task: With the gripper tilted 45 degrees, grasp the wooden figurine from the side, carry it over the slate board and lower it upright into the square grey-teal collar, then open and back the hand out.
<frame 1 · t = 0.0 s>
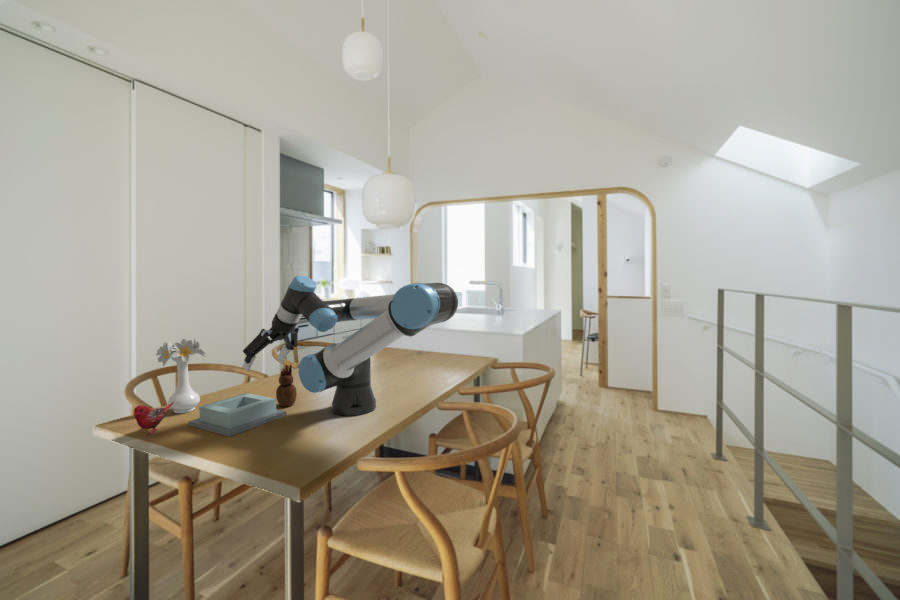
hand: (263, 364, 138), 15 cm above the table, tool tilted 35°, fingers open, 13 cm apart
flower vase: (182, 411, 136), on the table
wooden figurine: (286, 405, 141), on the table
collar stand: (239, 419, 127), on the table
decorative bird figurine: (156, 431, 118), on the table
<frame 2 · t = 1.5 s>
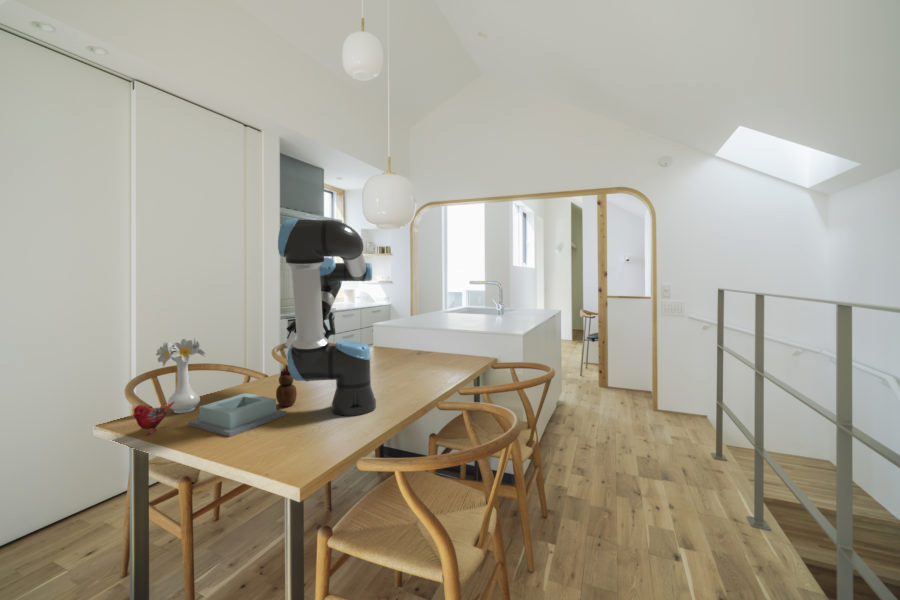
hand: (303, 347, 151), 19 cm above the table, tool tilted 45°, fingers open, 13 cm apart
nothing on the table moved.
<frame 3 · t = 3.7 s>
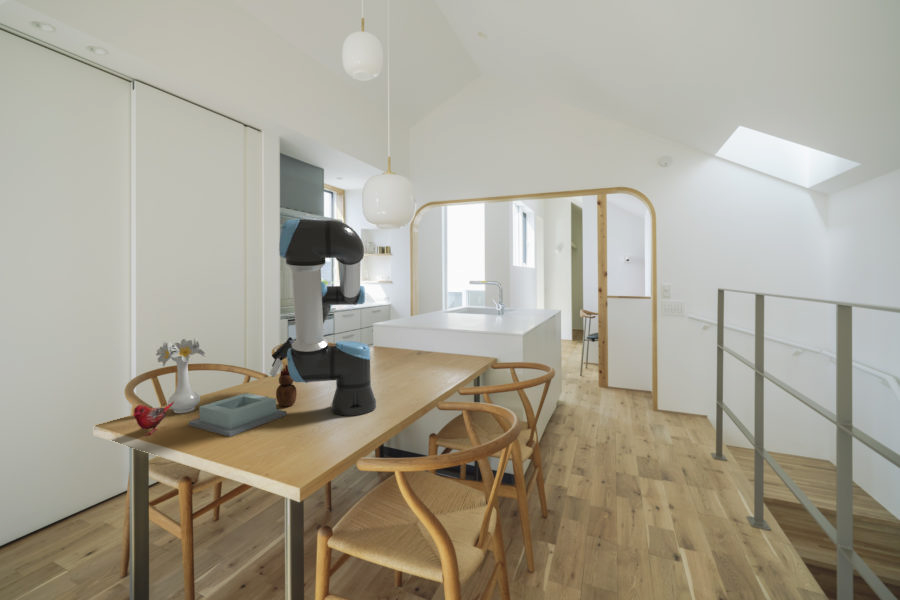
hand: (288, 376, 143), 10 cm above the table, tool tilted 45°, fingers open, 13 cm apart
nothing on the table moved.
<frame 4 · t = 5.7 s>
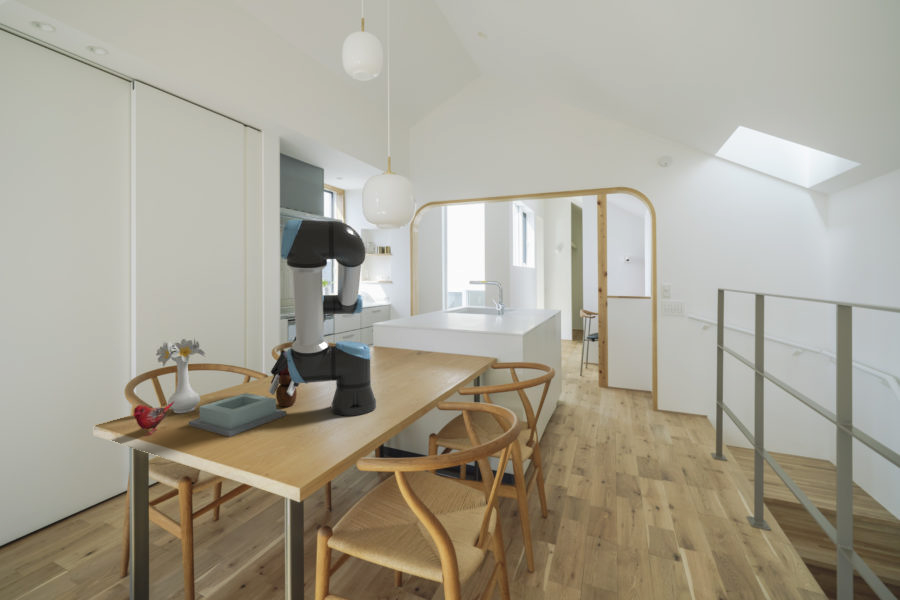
hand: (280, 393, 137), 5 cm above the table, tool tilted 45°, fingers closed on wooden figurine, 6 cm apart
wooden figurine: (286, 405, 141), on the table, touching gripper
everything else where it was.
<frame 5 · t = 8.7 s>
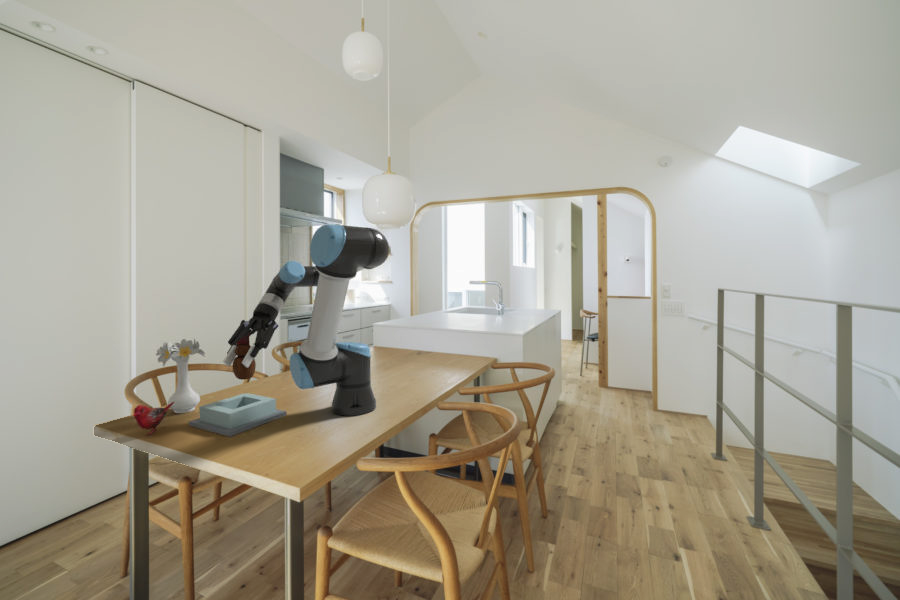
hand: (235, 364, 126), 18 cm above the table, tool tilted 45°, fingers closed on wooden figurine, 6 cm apart
wooden figurine: (244, 378, 130), point 12 cm above the table, touching gripper
everything else where it was.
when the fingers open (8 cm above the table, at t = 11.8 s): wooden figurine drops 1 cm, resting on collar stand.
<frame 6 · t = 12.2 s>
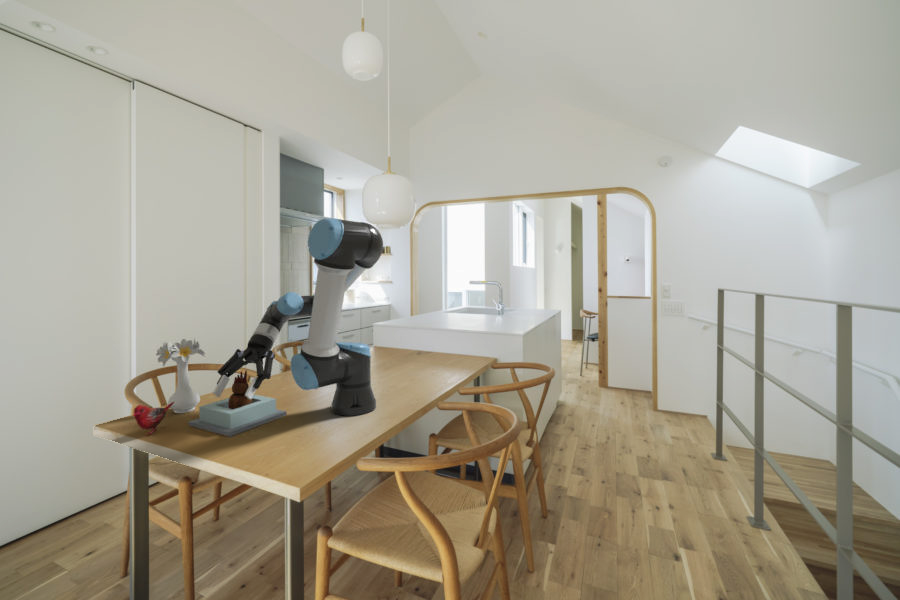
hand: (231, 396, 124), 9 cm above the table, tool tilted 45°, fingers open, 11 cm apart
wooden figurine: (240, 416, 127), point 1 cm above the table, touching collar stand
everything else where it was.
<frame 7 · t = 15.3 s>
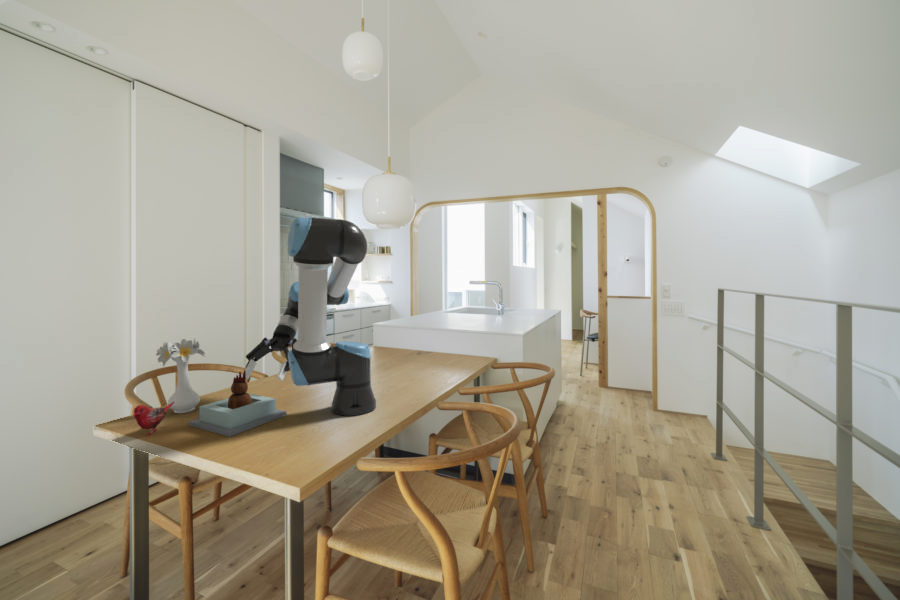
hand: (262, 377, 138), 11 cm above the table, tool tilted 45°, fingers open, 13 cm apart
nothing on the table moved.
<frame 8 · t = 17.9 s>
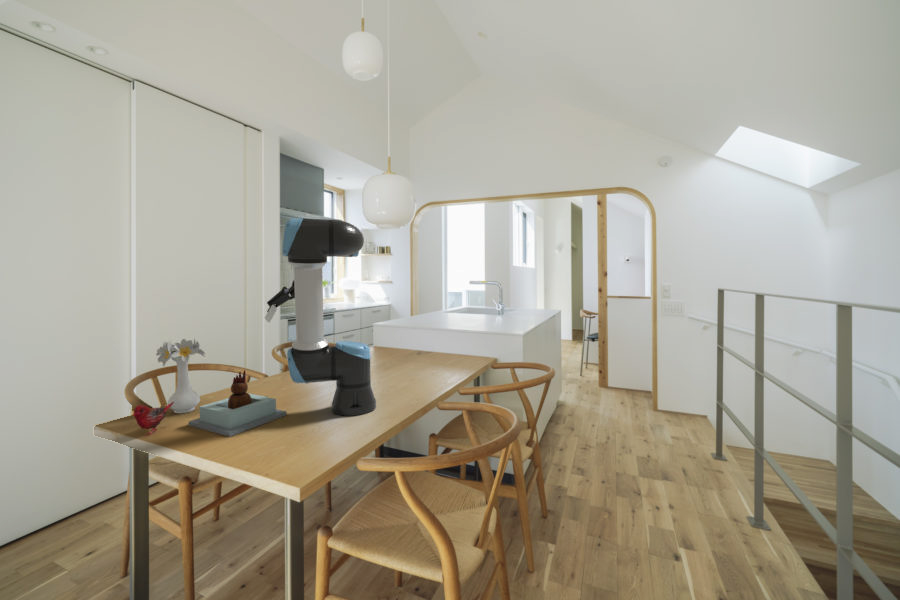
hand: (283, 320, 148), 30 cm above the table, tool tilted 45°, fingers open, 13 cm apart
nothing on the table moved.
at the end: wooden figurine 0.4 cm off-centre on the collar stand, point 1.0 cm above the collar stand's base; wooden figurine tilted 0°; the gripper is holding nothing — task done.
